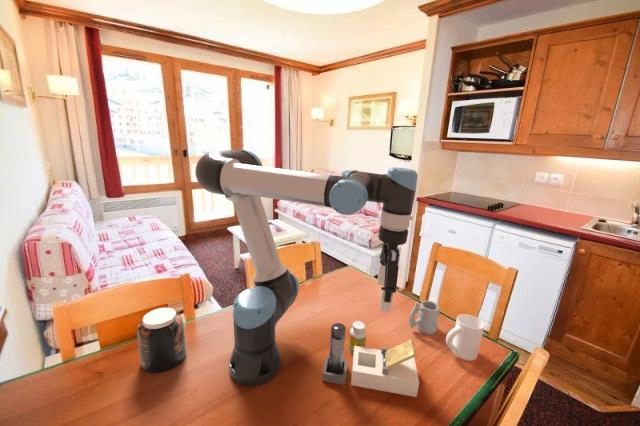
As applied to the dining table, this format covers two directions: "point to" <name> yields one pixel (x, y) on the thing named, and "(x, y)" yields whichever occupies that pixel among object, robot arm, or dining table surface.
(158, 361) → the jar
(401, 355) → the brass flap
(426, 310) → the mug
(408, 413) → the dining table surface
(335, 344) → the steel pin
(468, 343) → the mug
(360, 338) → the supplement bottle
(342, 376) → the stand collar
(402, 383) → the socket block
